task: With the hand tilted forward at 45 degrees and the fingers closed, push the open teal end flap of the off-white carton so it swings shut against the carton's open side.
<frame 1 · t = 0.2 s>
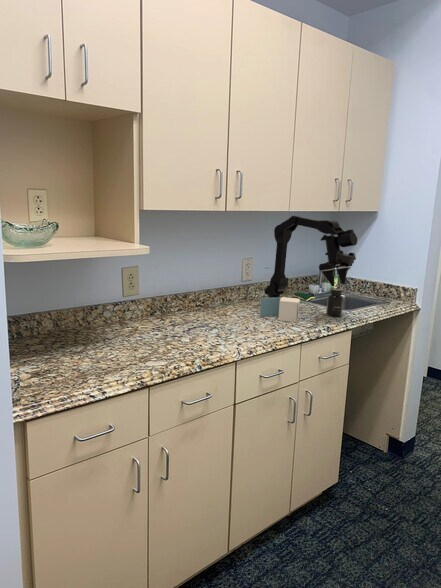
hand: (338, 285, 196), 15 cm above the worktop, tool pointing down, fingers open, 9 cm apart
carton: (288, 319, 197), on the worktop
supplement bottle: (333, 315, 208), on the worktop
flap: (270, 306, 200), point 4 cm above the worktop, hinge at 60.0°
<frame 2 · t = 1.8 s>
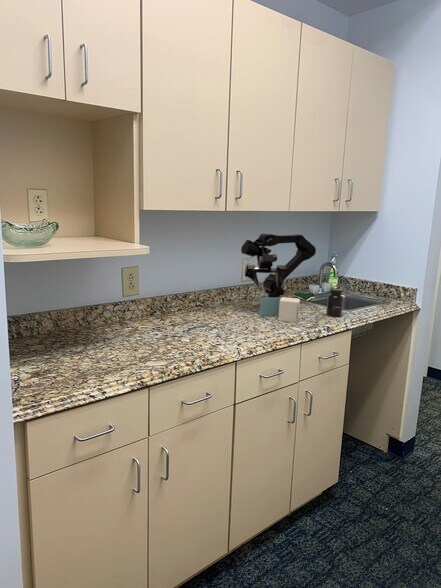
hand: (268, 286, 204), 13 cm above the worktop, tool tilted 45°, fingers open, 9 cm apart
nothing on the worktop moved.
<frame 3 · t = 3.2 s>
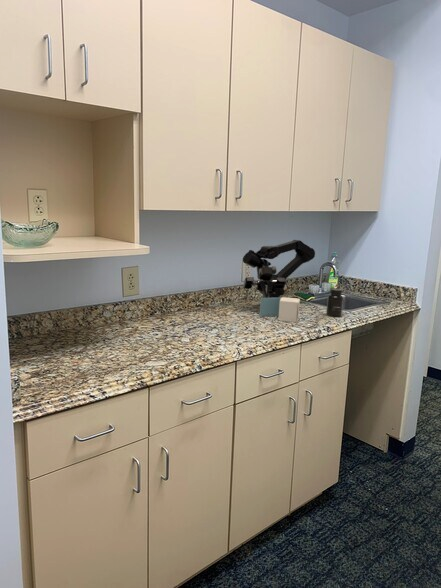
hand: (266, 298, 204), 7 cm above the worktop, tool tilted 45°, fingers closed
nothing on the worktop moved.
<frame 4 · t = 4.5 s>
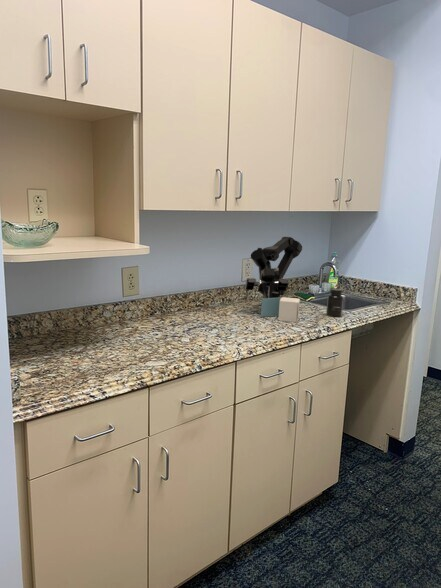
hand: (268, 300, 199), 7 cm above the worktop, tool tilted 45°, fingers closed
flap: (270, 306, 200), point 4 cm above the worktop, hinge at 52.1°, touching gripper
everything else where it was.
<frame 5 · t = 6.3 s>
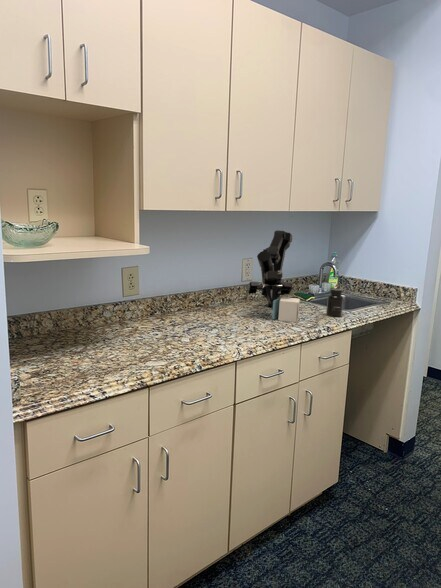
hand: (272, 304, 193), 7 cm above the worktop, tool tilted 45°, fingers closed
flap: (275, 308, 197), point 4 cm above the worktop, hinge at 10.5°, touching gripper
everything else where it was.
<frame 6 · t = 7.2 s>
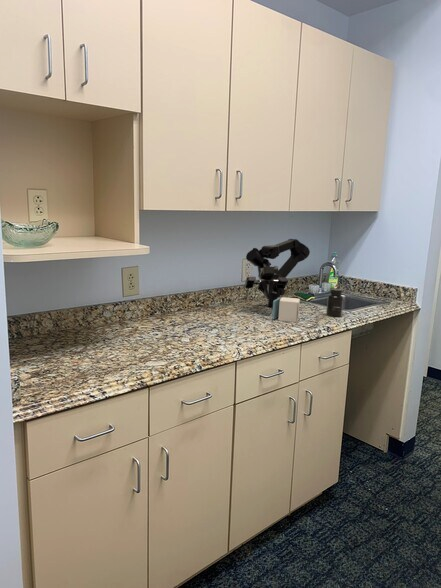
hand: (268, 298, 202), 8 cm above the worktop, tool tilted 45°, fingers closed
flap: (275, 308, 197), point 4 cm above the worktop, hinge at 10.4°
everything else where it was.
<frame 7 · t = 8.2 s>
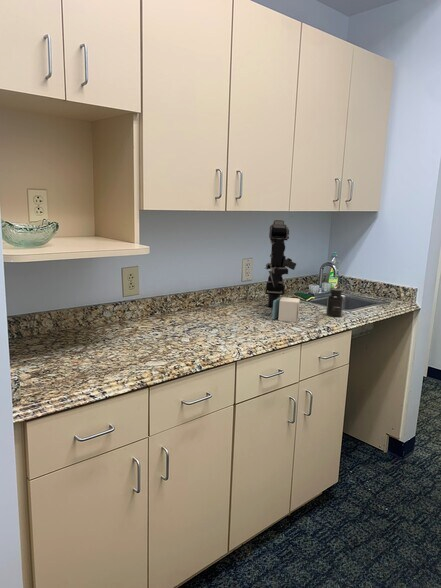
hand: (275, 287, 204), 12 cm above the worktop, tool pointing down, fingers closed
nothing on the worktop moved.
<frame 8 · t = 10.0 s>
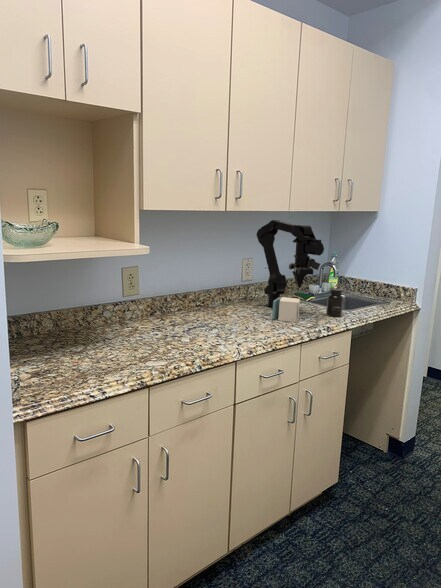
hand: (299, 287, 207), 12 cm above the worktop, tool pointing down, fingers closed
nothing on the worktop moved.
at the end: flap at +10° (first picture: +60°); flap touching nothing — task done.
